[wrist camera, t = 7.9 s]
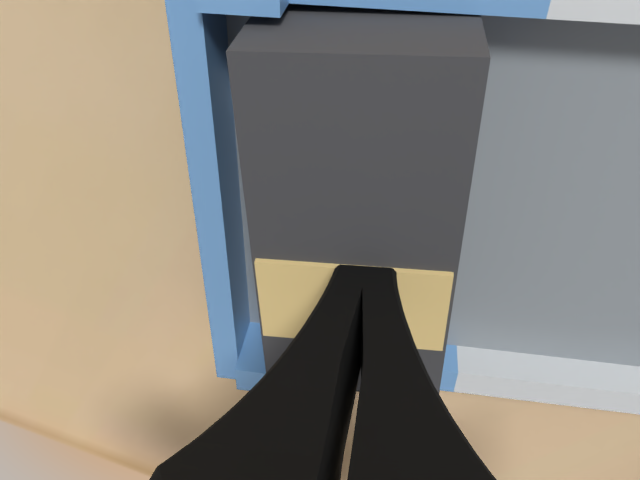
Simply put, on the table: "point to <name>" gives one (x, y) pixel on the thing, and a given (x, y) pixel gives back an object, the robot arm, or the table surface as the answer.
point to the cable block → (357, 157)
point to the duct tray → (473, 199)
